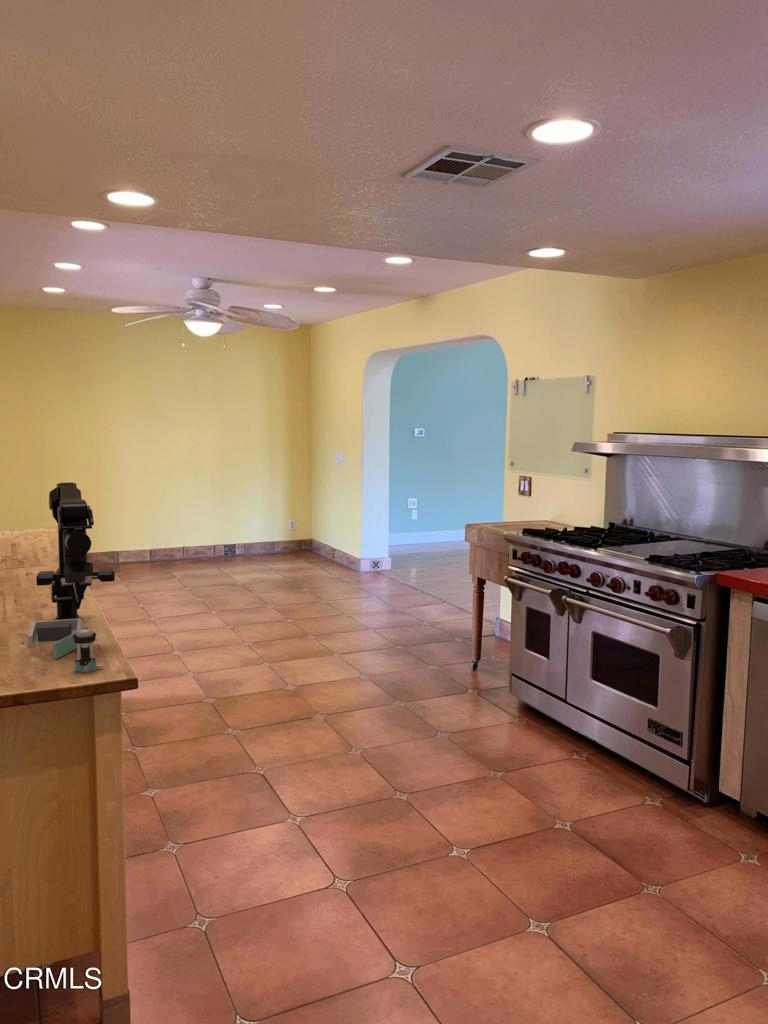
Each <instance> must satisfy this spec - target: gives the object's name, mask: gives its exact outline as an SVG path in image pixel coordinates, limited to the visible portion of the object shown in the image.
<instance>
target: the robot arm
mask: <svg viewBox="0 0 768 1024" xmlns="http://www.w3.org/2000/svg"><path fill="white" fill-rule="evenodd" d="M48 507H49V510H51V513H52V517H53V519H54V520H55V521H56V523H57V542H58V544H57V545H58V549H57V550H58V567H57V569H56V571H55V570H45V571H44V570H43V571H39V573H37V575H36V578H35V579H36V586H38V587H41V586H50V598H51V599H50V600H51V602H52V604H54V603H56V616H55V620H64V619H78V618H80V615H79V614H78V610H80V608H81V604H82V601H83V600H84V599H85V592H86V590H87V588H88V587H89V586H92V584H93V580H99V581H100V582H101V583H104V582H105V583H106V582H115V580H116V579H115V576H116V575H115V569H114V568H113V567H101V568H98V571H94V565H93V564H94V562H93V561H91V562H88V552H89V551H90V550H91V547H92V540H91V537H89V535H88V534H87V530H89V529H93V526H94V525H95V523H94V522H95V521H94V514H93V510H92V509H91V506H90V505H88V503H87V501H86V500H85V499H82V491H81V490H80V489H79V488H78V487H77V483H74V481H73V482H59V483H57V484H56V487H55V488H53V489H51V490H50V491H49V494H48Z"/></svg>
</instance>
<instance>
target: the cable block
mask: <svg viewBox="0 0 768 1024" xmlns="http://www.w3.org/2000/svg"><path fill="white" fill-rule="evenodd" d="M72 631H73V630H72V628H71V622H60V623H41V624H40V625H39V626H38V628H37V633H36V636H37V642H38V643H40V642H43V641H44V642H57V641H59V640H61V639H63V638H65V637H67V636H69V635H71V634H73V633H72ZM44 642H43V643H44Z"/></svg>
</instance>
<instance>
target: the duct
mask: <svg viewBox="0 0 768 1024" xmlns="http://www.w3.org/2000/svg"><path fill="white" fill-rule="evenodd" d="M31 622H32V623H31V625H30V629H29V631H28V634H27V645H28V646H27V647H28V648H33V646H34V642H35V639H36V636H37V628H38V626H39V625H40V624H41V623H60V622H71V628H72V631H75V630H76V632H77V631H78V630H81V629H89V626H83V624H82V622H83V621H82V618H81V617H79V618H78V619H64V620H56V619H54V620H53V619H52V620H51V619H50V620H42V621H41V620H40V621H39V620H38V621H37V620H36V621H31Z"/></svg>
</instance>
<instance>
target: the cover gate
mask: <svg viewBox="0 0 768 1024" xmlns="http://www.w3.org/2000/svg"><path fill="white" fill-rule="evenodd" d="M76 633H77V631H75V632H73V633H72V634H71V635H69V636H67V637H65V638H63V639H61V640H59V641H54V642H52V652H53V653H52V654H53V659H54V660H55V659H56V660H57V659H59V658H61V657H63V656H65V655H67V654H68V653H71V652H72V651H74V650H77V643H75V642H74V638H73V635H74V634H76ZM80 647H81V645H80Z"/></svg>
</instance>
